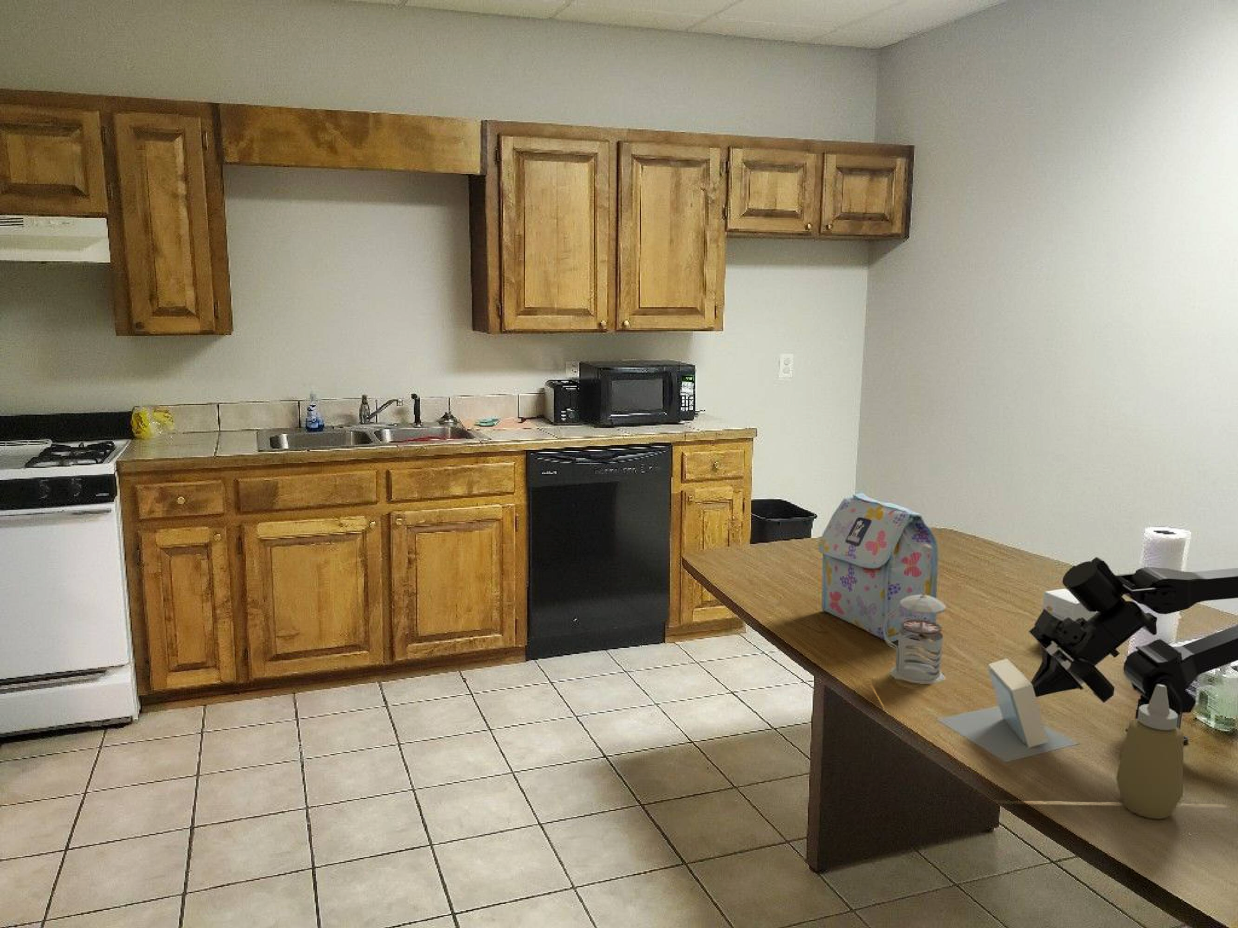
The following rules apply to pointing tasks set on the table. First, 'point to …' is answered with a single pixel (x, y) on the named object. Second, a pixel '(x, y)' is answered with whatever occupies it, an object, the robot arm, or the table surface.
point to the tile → (1018, 702)
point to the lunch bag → (876, 564)
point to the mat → (1001, 734)
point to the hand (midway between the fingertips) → (1027, 695)
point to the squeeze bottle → (1152, 760)
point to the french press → (911, 664)
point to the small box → (1065, 605)
